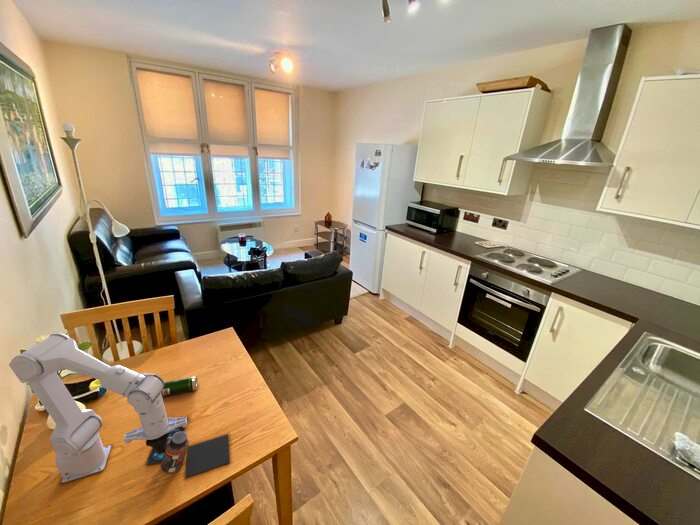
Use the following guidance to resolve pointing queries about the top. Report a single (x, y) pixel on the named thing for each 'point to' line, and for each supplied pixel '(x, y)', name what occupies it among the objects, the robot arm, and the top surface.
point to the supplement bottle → (175, 453)
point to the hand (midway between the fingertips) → (162, 449)
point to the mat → (207, 455)
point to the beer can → (179, 386)
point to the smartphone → (157, 456)
